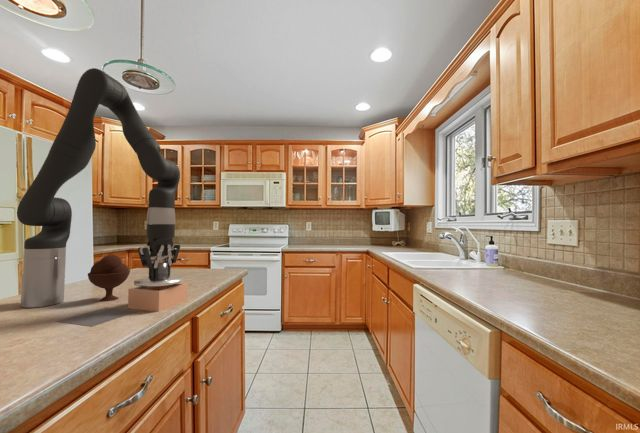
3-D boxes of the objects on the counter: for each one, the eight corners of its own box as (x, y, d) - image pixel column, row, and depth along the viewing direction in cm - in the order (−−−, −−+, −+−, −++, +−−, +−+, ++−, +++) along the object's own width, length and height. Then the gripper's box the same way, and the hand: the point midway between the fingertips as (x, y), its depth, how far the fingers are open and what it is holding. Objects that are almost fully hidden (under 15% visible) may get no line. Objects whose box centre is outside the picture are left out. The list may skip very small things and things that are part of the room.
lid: (122, 285, 78) (123, 264, 78) (160, 276, 91) (160, 259, 91) (159, 288, 75) (160, 266, 75) (193, 279, 87) (193, 261, 87)
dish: (127, 309, 78) (128, 289, 79) (159, 300, 89) (159, 281, 89) (158, 313, 76) (159, 291, 76) (187, 302, 86) (187, 283, 86)
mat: (55, 323, 67) (55, 321, 67) (105, 309, 79) (105, 307, 79) (91, 329, 64) (92, 326, 64) (138, 313, 76) (138, 311, 76)
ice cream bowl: (137, 297, 93) (138, 253, 93) (108, 306, 81) (110, 256, 82) (108, 296, 94) (110, 252, 94) (76, 305, 83) (78, 256, 83)
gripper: (169, 223, 91) (168, 274, 90) (130, 222, 77) (128, 283, 77) (188, 223, 89) (187, 276, 88) (151, 222, 75) (149, 285, 75)
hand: (159, 279), depth 83 cm, fingers closed on lid, 4 cm apart
